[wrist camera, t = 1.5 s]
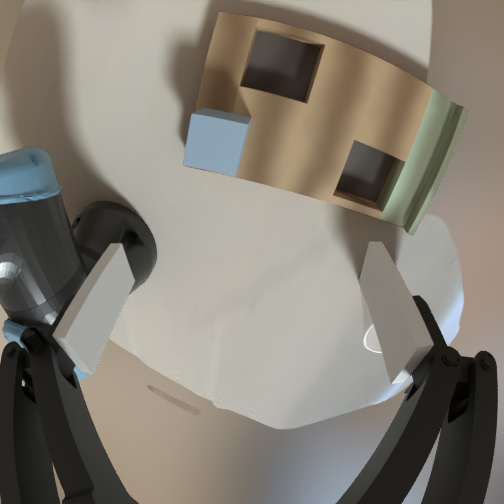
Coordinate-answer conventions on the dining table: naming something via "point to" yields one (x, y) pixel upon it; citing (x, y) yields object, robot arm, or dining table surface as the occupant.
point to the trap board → (330, 118)
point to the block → (216, 141)
